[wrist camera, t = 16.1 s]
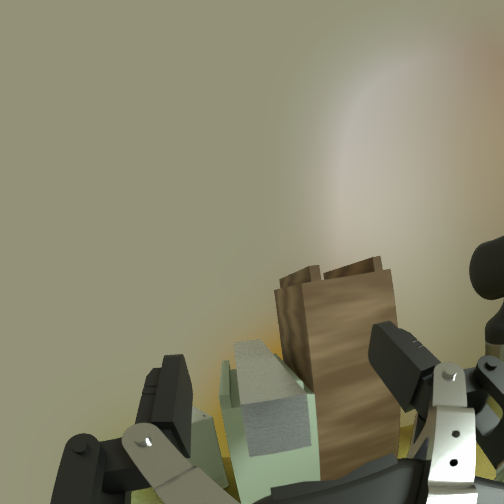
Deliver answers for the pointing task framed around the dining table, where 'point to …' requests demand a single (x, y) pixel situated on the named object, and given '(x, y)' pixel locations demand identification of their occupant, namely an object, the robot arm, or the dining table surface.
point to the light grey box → (272, 465)
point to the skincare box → (206, 448)
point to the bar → (270, 402)
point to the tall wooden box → (341, 359)
